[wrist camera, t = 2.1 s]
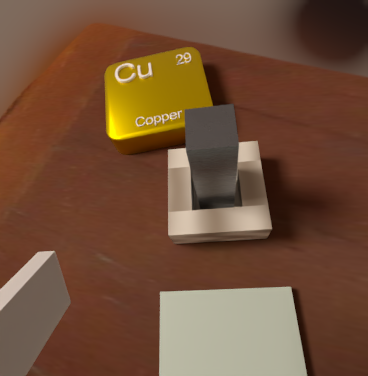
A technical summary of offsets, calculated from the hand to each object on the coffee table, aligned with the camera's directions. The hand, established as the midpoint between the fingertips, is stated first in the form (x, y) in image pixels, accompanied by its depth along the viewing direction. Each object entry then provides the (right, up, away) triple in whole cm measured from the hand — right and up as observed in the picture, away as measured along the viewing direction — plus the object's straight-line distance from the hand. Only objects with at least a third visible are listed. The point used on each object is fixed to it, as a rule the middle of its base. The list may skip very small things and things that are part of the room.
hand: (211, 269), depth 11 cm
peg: (+3, +2, +23) cm, 23 cm away
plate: (+3, -14, +16) cm, 22 cm away
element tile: (-5, +16, +32) cm, 36 cm away
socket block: (+3, +2, +24) cm, 24 cm away
